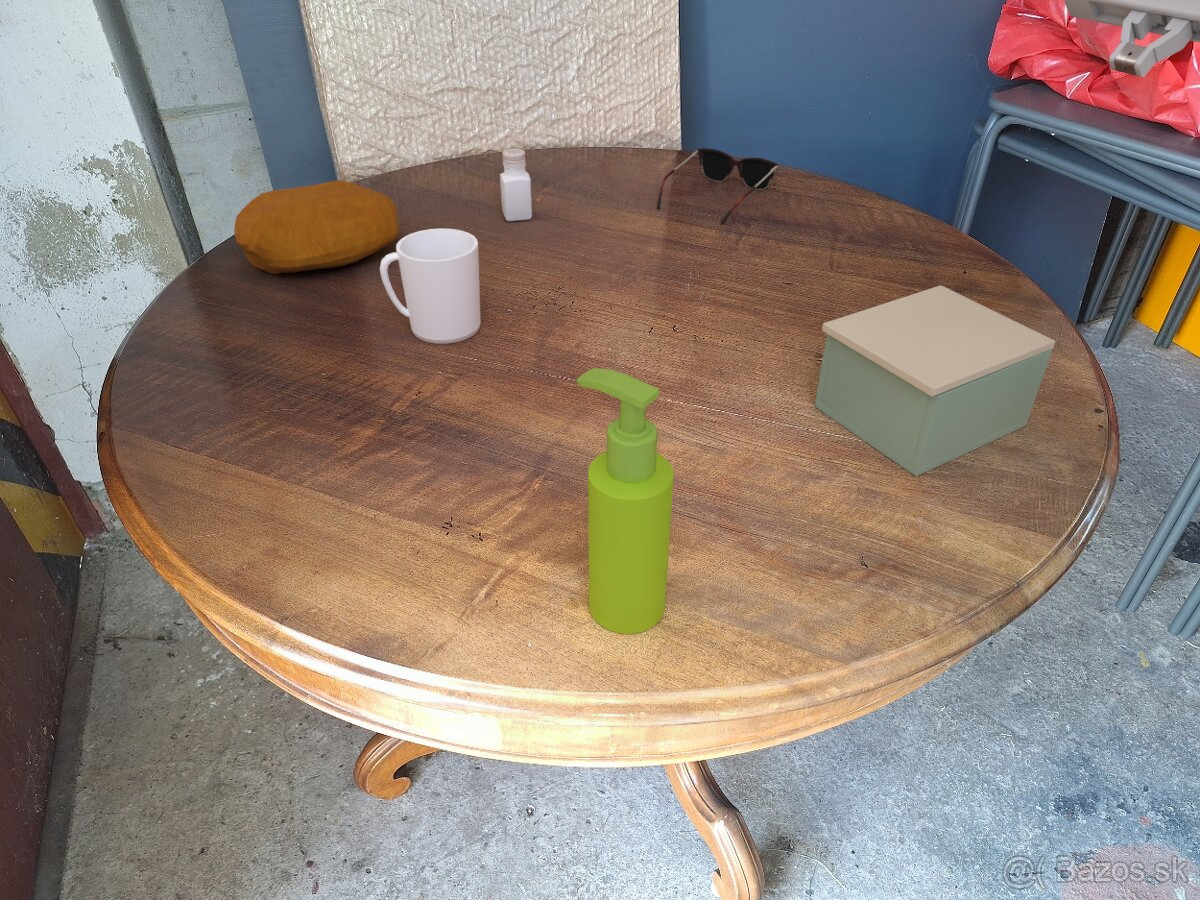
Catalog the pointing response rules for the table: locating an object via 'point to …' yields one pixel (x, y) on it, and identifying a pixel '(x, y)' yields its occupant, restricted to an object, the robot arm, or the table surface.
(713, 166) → the sunglasses
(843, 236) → the table surface
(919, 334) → the lid
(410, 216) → the table surface
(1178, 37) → the robot arm
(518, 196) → the salt shaker
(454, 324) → the mug
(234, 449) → the table surface
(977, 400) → the green open box
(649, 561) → the soap dispenser
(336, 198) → the bread
